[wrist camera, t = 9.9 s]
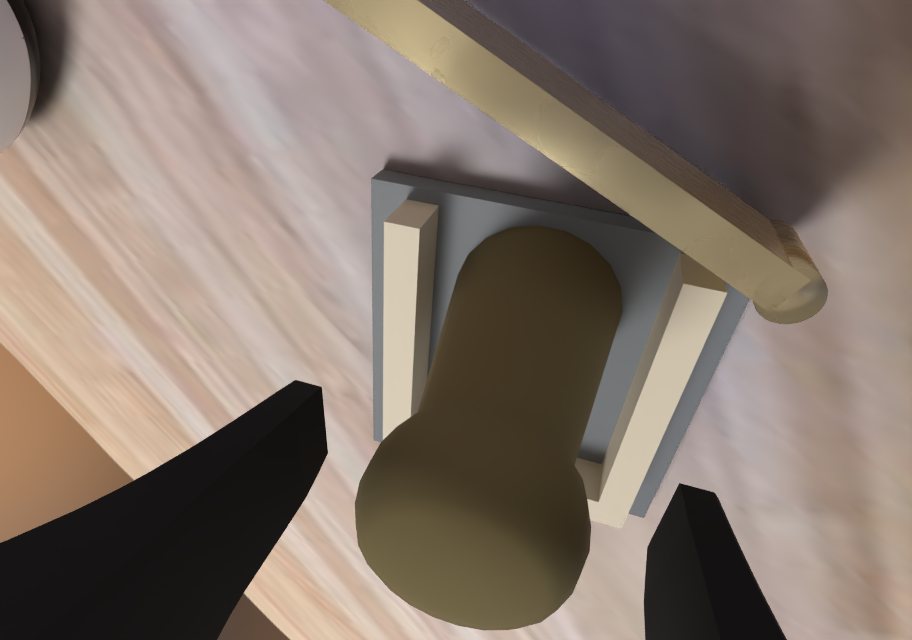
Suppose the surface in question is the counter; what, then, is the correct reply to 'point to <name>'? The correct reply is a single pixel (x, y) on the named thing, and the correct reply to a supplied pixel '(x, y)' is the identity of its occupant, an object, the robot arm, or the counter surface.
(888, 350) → the counter surface
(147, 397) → the counter surface
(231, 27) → the counter surface
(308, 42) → the counter surface
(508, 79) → the bar
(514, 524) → the brown rounded piece
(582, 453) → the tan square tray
